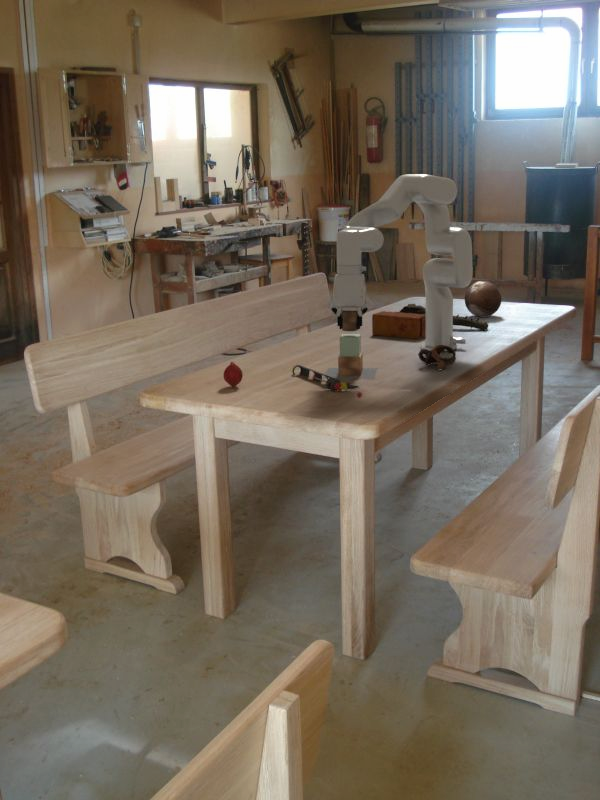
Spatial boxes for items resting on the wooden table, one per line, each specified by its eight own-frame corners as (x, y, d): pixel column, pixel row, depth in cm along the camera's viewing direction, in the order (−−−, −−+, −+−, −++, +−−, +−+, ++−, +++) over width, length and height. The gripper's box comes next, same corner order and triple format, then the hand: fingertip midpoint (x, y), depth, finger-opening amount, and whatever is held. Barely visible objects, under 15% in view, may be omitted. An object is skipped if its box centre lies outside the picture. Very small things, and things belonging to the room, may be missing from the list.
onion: (226, 384, 290) (224, 359, 288) (244, 384, 290) (243, 359, 288) (222, 389, 285) (221, 363, 283) (241, 389, 284) (240, 363, 282)
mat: (377, 369, 304) (377, 368, 304) (374, 379, 291) (374, 378, 291) (328, 368, 307) (328, 367, 307) (322, 379, 294) (322, 377, 294)
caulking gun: (317, 365, 303) (290, 364, 298) (381, 389, 271) (352, 387, 266) (315, 377, 303) (288, 376, 298) (379, 402, 272) (350, 401, 267)
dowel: (358, 328, 297) (358, 309, 296) (357, 331, 292) (356, 312, 291) (342, 328, 298) (342, 309, 296) (341, 331, 293) (340, 312, 292)
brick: (417, 317, 346) (417, 340, 349) (428, 313, 353) (428, 335, 355) (371, 314, 357) (371, 336, 360) (382, 310, 364) (382, 331, 366)
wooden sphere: (458, 318, 388) (459, 282, 384) (472, 312, 400) (473, 277, 396) (493, 321, 380) (494, 284, 376) (506, 315, 392) (507, 279, 389)
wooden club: (488, 329, 365) (489, 304, 362) (487, 332, 360) (487, 306, 358) (390, 326, 376) (390, 302, 374) (387, 329, 372) (387, 304, 369)
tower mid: (360, 352, 300) (360, 334, 298) (359, 356, 294) (358, 337, 292) (342, 352, 301) (341, 333, 299) (339, 356, 295) (339, 337, 293)
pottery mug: (450, 364, 311) (458, 345, 305) (450, 383, 304) (458, 364, 298) (415, 356, 310) (422, 337, 305) (414, 374, 303) (421, 355, 298)
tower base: (362, 370, 302) (362, 352, 300) (360, 375, 295) (360, 357, 293) (341, 370, 303) (340, 352, 301) (338, 375, 296) (338, 356, 295)
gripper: (377, 268, 293) (378, 326, 297) (323, 269, 295) (324, 326, 300) (375, 271, 286) (376, 330, 290) (320, 272, 288) (321, 330, 293)
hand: (349, 327), depth 295 cm, fingers closed on dowel, 5 cm apart
